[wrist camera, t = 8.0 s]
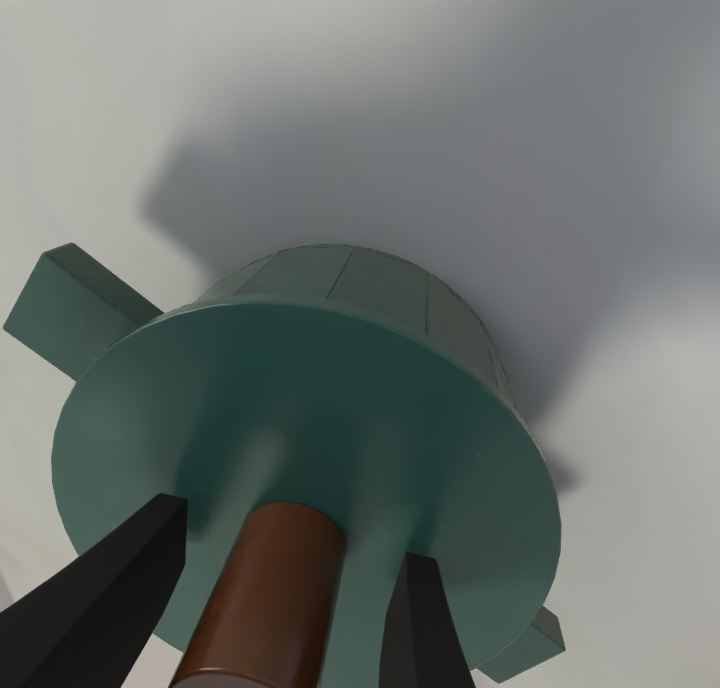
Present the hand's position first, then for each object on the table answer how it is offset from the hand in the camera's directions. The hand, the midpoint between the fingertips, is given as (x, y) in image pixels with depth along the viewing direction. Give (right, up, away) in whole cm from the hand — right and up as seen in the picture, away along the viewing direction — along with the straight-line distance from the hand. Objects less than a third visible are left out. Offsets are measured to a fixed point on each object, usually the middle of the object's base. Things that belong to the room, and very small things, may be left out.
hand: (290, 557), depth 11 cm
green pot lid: (0, 0, +1) cm, 1 cm away
